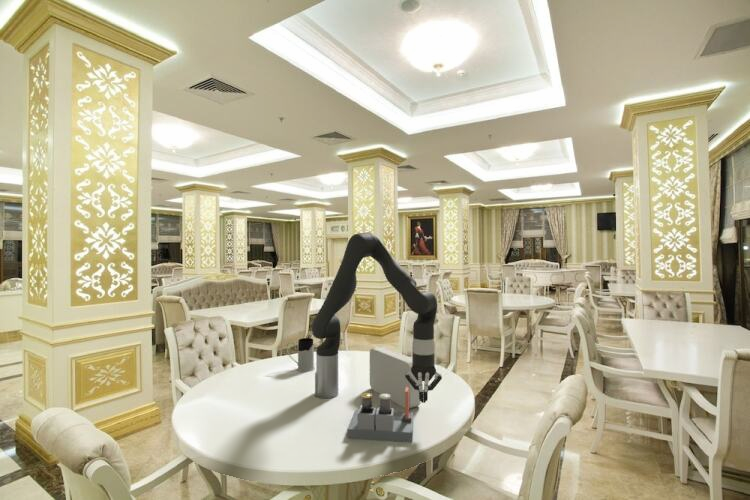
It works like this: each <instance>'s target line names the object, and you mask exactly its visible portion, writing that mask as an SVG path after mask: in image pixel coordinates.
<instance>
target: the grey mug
mask: <svg viewBox="0 0 750 500" xmlns="http://www.w3.org/2000/svg"><path fill="white" fill-rule="evenodd" d="M289 344H293V346H294V350H295V351H297V360H298V361H297V360H296V359H294V358H293V357H292V356H291V354H290V352H289V349H288V345H289ZM296 347H297V346H296V344H295V342H293V341H290V342H288V343H287V344H286V351H287V355H288V356H289V357H290V359H291V360H292V361H294V362H295V363H296V364H297V371H298V372H305V373H306V372H312V371H314V370H315V363H314V361H315V360H314V357H315V356H314V354H315V353H314V351H315V350H314V349H315V348H314V339H313V338H310V337H308V338H307V337H306V338H305V337H304V338H299V339H298V349H297V348H296Z"/></svg>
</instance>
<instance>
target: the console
mask: <svg viewBox="0 0 750 500" xmlns="http://www.w3.org/2000/svg"><path fill="white" fill-rule="evenodd" d="M394 409H395V408H393V407H392V408H391V407H390V412H389V413H381V412H380V407H372V411H371V412H369V413H365V412H362V407H361V406H360V407H359V409H354V412H353V415H352V417H351V419H350V421H349V425H348V427H347V429H346V430H347V431H346V433H347V439H348V440H349V439H353V440H367V441H368V440H370V441H387V442H403V443H404V442H405V443H414V442H413V441H414V440H413V439H414V438H413V436H414V435H413V434H414V412H411V411H409V414H412V419H411V421H402V418H403V413H404V414H405V411H395V410H394Z"/></svg>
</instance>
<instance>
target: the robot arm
mask: <svg viewBox="0 0 750 500" xmlns="http://www.w3.org/2000/svg"><path fill="white" fill-rule="evenodd" d="M368 257H371V258H372V259H374V261H376V262H377V263H378V264H379V265H380V267H381V268H382V271H383V274H384V276H385V279H386V281H388V283H389V285H391V287H392V288H394V289H395V290H396V291H397V292H398V294H400V295H401V297H402V299H403V301H404V303H405V304H406V305H407V306H408V308H409V309H410V310H411V311H413V313H415V314H417V319H415V321H414V322H413V324H412V325H413V328H412V333H413V334H412V346H411V347H412V348H411V350H412V355H411V358H412V368H411V371H410V372H408V373H406V374H405V378H406V379H407V380H408V381H409V383H410V384H411V385H412V387H413V388H414V389H415V390H418V391H419V400H420V401H421V402H420V404H421V403H422V404H423V403H424V404H425V403H426V402H427V401H428V399H429V397H428V392H429V391H433V390H434V388H436V386H437V385H438V384H439V383H440V382H441V381H442V378H443V377H442V374H441V373H438V372H437V369H436V367H435V366H436V365H435V363H436V361H435V360H436V359H435V358H436V356H435V351H436V350H435V349H436V348H435V334H434V333H435V326H434V325H435V320H436V317H437V311H438V301H437V298H436V296H435V295H434V293H432V292H431V291H422V292H421V291H420V290H419V289H418V288H417V281H416V280H415V279H414V277H412V276H411V275H410V274H409V273H408V271H406V270H405V269H404V268H403V267H402V266H401V265H400V264H399V263H398V262H397V260H395V258H394V257H393V255H392V254H391V253H390V252H389V251H388V249H387V248H386V246H385V245H384V244H383V242H382V241H381V239H379V238H378V236H377V235H376V234H374V233H373V232H369V231H367V232H366V231H365V232H361V233H360V232H359V233H355V234H353V235H352V236H351V237H350V238H349V240H348V242H347V244H346V247H345V251H344V255H343V257H342V261H341V263H340V265H339V268H338V270H337V272H336V275H335V277H334V279H333V280H332V281H333V282H332V283H331V286H330V287H329V291H328V292H327V295H326V298H324V299H325V300H324V301H323V304H322V305H321V307H320V309H318V310H319V311H318V312H317V314H316V315H315V317H314V318H313V322H312V326H311V332H312V336H313V337H314V338H316V339H319V340H321V339H322V340H323V339H325V340H324V341H323V342H322V343H321V344H319V345H318V346H317V347H316V352H315V353H316V354H315V355H316V357H315V359H316V364H315V365H316V372H315V374H314V396H315V397H318V398H322V399H330V398H331V399H332V398H334V397H336V396H338V395H339V350H340V346H341V345H340V344H341V329H342V328H341V321H340V319H339V317H338V316H337V315H336V314H337V313H338V312H339V311H340V310H341V309H342V308H343V307H345V306H346V305H347V304H348V303H349V302H350V300H351V299H352V297H353V295H354V293H355V291H356V288H357V283H358V280H357V269H358V267H359V266H360V263H361V262H362V260H363V259H364V258H368ZM412 374H413V375H414V377H415V378H416V379H417V380H418V381H419V385H417V384H416V382H415V381H414V380H413V378H412V377H413V376H412ZM433 378H434V379H433ZM432 379H433V380H432ZM431 380H432V382H431V383H430V381H431ZM423 383H424V384H423Z"/></svg>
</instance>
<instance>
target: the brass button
mask: <svg viewBox="0 0 750 500" xmlns="http://www.w3.org/2000/svg"><path fill="white" fill-rule="evenodd" d="M361 405H362V412H365V413H369V412H371V411H372V408H373V393H372V392H371V393H370V392H365V393H361Z"/></svg>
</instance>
